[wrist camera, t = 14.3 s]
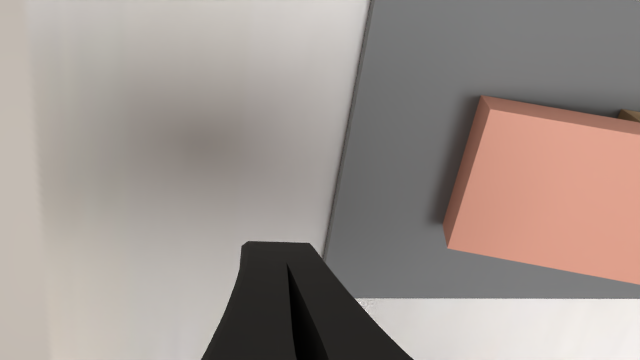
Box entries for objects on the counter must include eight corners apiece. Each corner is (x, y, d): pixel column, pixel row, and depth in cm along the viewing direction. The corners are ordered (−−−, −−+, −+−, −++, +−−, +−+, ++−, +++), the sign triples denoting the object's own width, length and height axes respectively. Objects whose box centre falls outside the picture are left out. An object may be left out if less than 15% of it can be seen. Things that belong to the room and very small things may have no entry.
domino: (447, 248, 17) (716, 299, 16) (490, 109, 14) (801, 163, 14) (442, 224, 18) (688, 270, 18) (480, 95, 16) (762, 143, 15)
